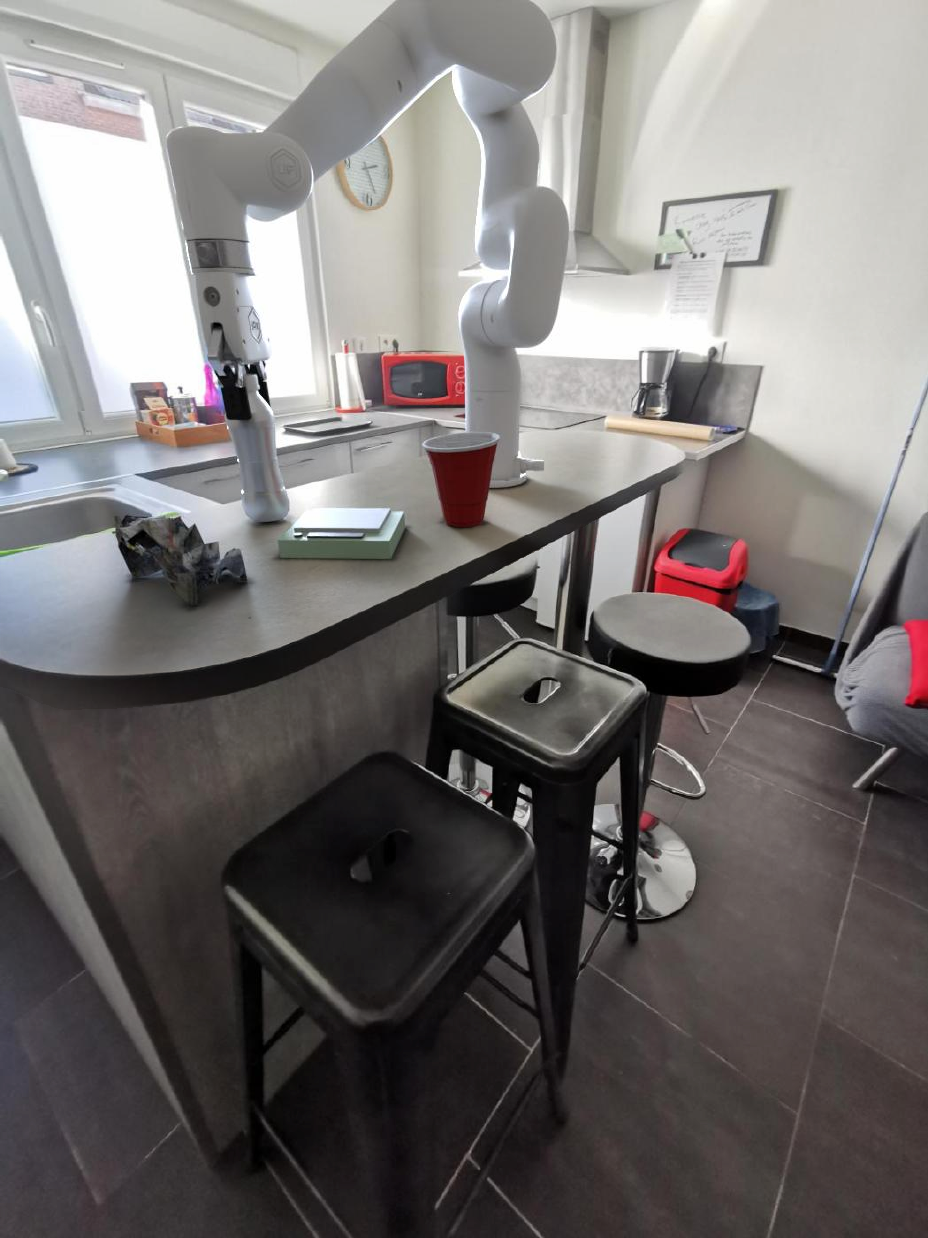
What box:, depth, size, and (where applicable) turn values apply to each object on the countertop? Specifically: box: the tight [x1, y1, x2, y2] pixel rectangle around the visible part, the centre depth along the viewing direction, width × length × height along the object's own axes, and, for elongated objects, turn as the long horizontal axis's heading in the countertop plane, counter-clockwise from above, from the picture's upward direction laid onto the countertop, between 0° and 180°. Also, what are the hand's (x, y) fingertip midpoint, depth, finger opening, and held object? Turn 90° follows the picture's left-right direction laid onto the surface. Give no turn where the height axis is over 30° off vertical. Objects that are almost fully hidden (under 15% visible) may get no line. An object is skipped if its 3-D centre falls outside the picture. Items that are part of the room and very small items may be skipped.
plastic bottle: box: [224, 374, 290, 523], centre depth 80 cm, size 6×7×20 cm
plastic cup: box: [421, 431, 500, 528], centre depth 80 cm, size 11×11×12 cm
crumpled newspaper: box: [111, 514, 248, 607], centre depth 63 cm, size 12×11×15 cm
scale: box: [277, 507, 406, 560], centre depth 75 cm, size 14×12×3 cm
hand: (249, 414), depth 77 cm, fingers closed on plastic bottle, 6 cm apart
